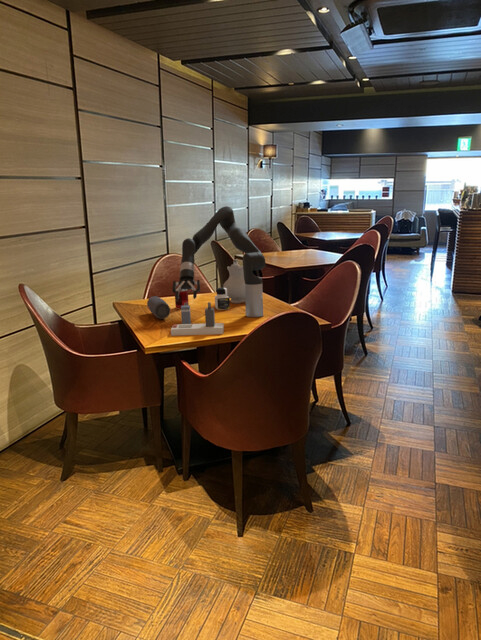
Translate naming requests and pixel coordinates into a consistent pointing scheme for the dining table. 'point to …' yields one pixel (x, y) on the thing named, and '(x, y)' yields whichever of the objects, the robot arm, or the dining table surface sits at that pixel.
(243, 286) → the ceramic pitcher
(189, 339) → the dining table surface
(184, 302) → the canned food
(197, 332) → the strip
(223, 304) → the medicine bottle
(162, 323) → the dining table surface
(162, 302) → the bluetooth speaker
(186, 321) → the plug
